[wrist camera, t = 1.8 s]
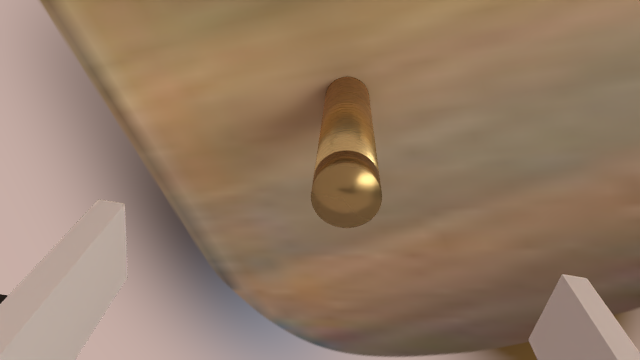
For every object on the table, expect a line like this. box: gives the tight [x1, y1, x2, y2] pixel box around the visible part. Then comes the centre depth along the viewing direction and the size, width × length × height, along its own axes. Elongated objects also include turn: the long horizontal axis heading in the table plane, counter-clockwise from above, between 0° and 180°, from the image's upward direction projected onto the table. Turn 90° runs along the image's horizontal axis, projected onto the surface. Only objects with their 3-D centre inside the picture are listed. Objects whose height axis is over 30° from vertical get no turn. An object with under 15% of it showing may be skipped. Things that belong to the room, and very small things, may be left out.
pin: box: [311, 77, 382, 228], centre depth 24 cm, size 3×3×13 cm
